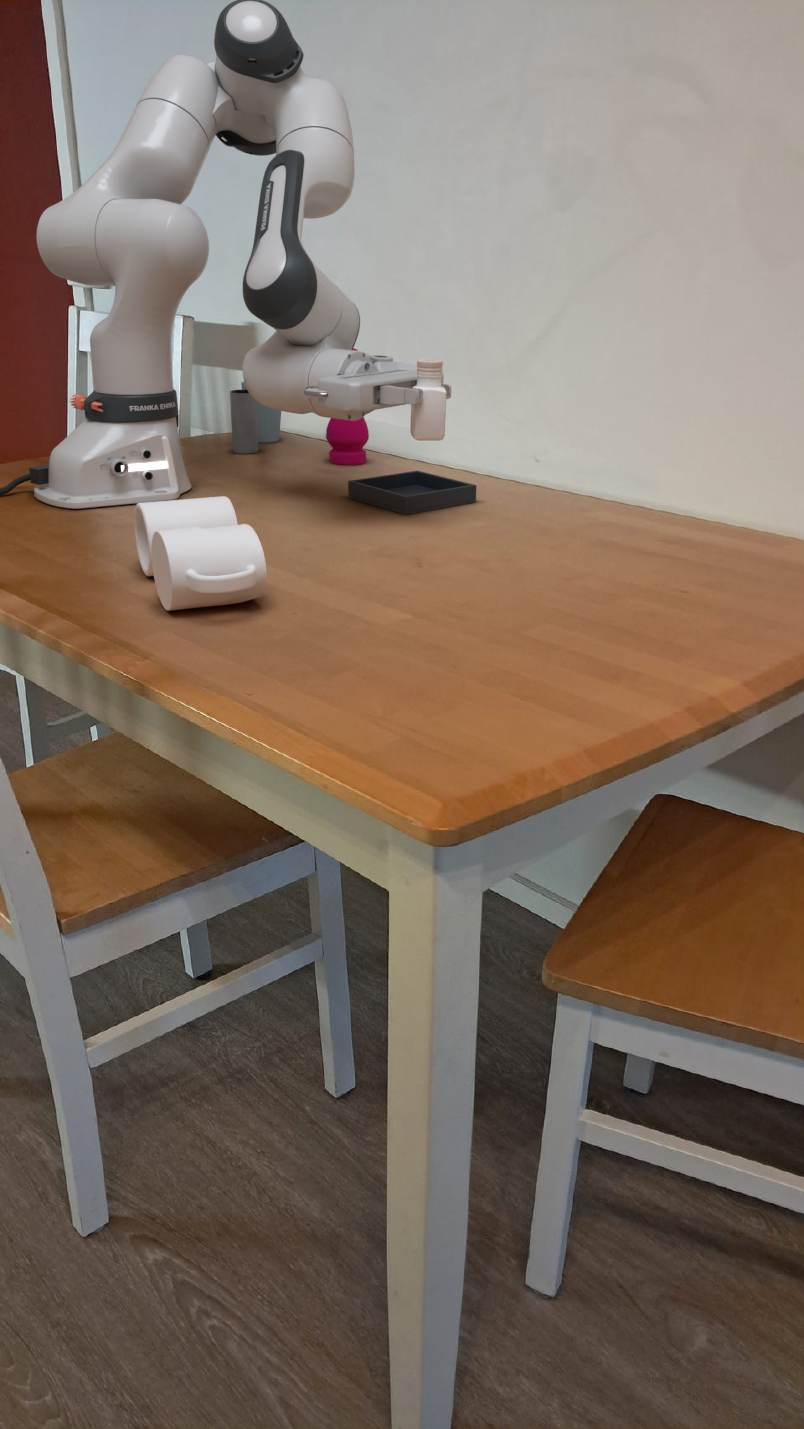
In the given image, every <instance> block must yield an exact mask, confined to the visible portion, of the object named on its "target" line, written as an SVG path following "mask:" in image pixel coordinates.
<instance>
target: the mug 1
mask: <svg viewBox="0 0 804 1429" xmlns="http://www.w3.org/2000/svg"><path fill="white" fill-rule="evenodd" d="M133 513H134V514H133V529H134V530H133V532H134V539H135V547H136V553H137V557H138V560H139V564H140V567H141V569H142V572H143V574H144V575H145V576H146V577H154V574H153V567H152V553H151V548H152V538H153V535H154V533H155V532H156V531H162V530H171V529H179V528H188V527H196V526H198V527H200V528H204V529H206V528H215V527H223V526H232V525H239V522H238V518H237V513H236V511H235V507H234V504H233V503H232V501H231V500H230V498H229V497H227V496H225V495H223V496H222V495H221V496H207V497H197V498H183V499H174V500H164V501H153V502H143V503H136V505H135V507H134V512H133Z"/></svg>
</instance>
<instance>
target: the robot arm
mask: <svg viewBox="0 0 804 1429" xmlns="http://www.w3.org/2000/svg"><path fill="white" fill-rule="evenodd" d="M213 46H214V47H213V48H214V51H215V61H212V62H207V63H206V62H205V61H204V60H202V59H200V58H199V57H197V56H193V55H190V54H182V53H181V54H176V55H173V56H171V57H169V58H168V59H167V60H165V61H164V62H163V63H162V65H161V66H159V68H158V69H157V71H156V72H155V73H154V75H153V76H152V77H151V79H150V80H149V82H148V83H147V85H146V86H145V88H144V90H143V92H142V93H141V95H140V97H139V99H138V101H137V103H136V105H135V107H134V109H133V112H132V114H131V116H130V118H129V121H128V123H127V124H126V127H125V128H124V131H123V133H121V134H122V135H121V136H120V137H119V140H118V142H117V145H116V146H115V147H114V149H113V151H112V152H111V153H110V155H109V156H108V157H107V158H106V160H105V161H104V162H103V163H102V164H101V165H100V167H99V168H97V169H96V171H95V172H94V173H93V174H92V175H91V176H90V177H88V179H87V180H86V181H85V182H83V184H81V186H80V187H78V188H77V189H76V190H75V191H73V192H72V193H71V194H69V195H68V196H67V197H65V198H64V199H62V200H60V201H59V202H57V203H54V204H53V205H50V206H49V207H47V208H46V209H45V210H44V211H43V212H42V213H41V215H40V218H39V220H38V223H37V226H36V245H37V248H38V253H39V256H40V258H41V260H42V262H43V264H44V266H45V268H47V269H48V271H49V272H50V273H51V274H53V275H55V276H56V277H58V278H62V279H64V280H67V281H70V282H74V283H77V284H81V285H85V286H96V287H97V286H99V287H101V286H102V287H114V290H115V291H114V299H113V304H112V306H111V309H110V311H109V313H108V315H107V316H106V317H105V318H103V319H102V320H100V321H99V322H98V323H97V324H96V325H95V326H94V327H93V329H92V331H91V332H90V336H89V346H90V356H91V358H90V359H91V367H92V368H91V369H92V376H93V378H92V379H93V385H94V390H93V391H92V392H91V393H90V394H89V395H88V396H87V397H86V396H85V395H81V394H78V393H75V394H73V395H72V396H71V398H70V401H69V403H71V404H70V406H72V407H73V409H76V410H79V411H84V417H85V419H84V420H83V421H82V422H81V423H80V424H79V425H77V427H76V428H74V429H73V430H72V431H71V432H70V433H69V434H68V435H67V436H66V437H65V438H64V439H63V440H62V441H61V442H59V444H57V445H56V446H55V447H54V448H53V449H52V451H51V452H50V456H49V459H48V463H47V464H42V465H36V466H31V467H29V468H28V470H29V473H26V474H23V475H21V476H18V477H16V478H14V479H13V480H11V481H10V482H9V483H8V484H7V485H5V486H3V487H1V488H0V496H3V495H6V494H8V493H10V492H11V491H13V490H14V489H15V488H16V487H18V486H19V485H21V484H23V483H25V482H28V481H30V484H34V485H36V486H35V487H34V489H33V496H34V498H35V499H37V500H38V501H40V502H41V503H44V504H47V505H51V506H54V507H58V508H64V509H75V510H76V509H77V510H78V509H89V508H90V509H91V508H98V507H110V506H121V505H130V504H138V503H145V502H158V501H170V500H178V499H179V498H180V495H181V494H184V493H186V492H188V491H190V490H191V489H192V483H191V481H190V479H189V475H188V472H187V469H186V466H185V465H186V464H185V462H184V457H183V453H182V447H181V442H180V437H179V429H178V428H179V425H180V424H179V422H180V416H179V405H178V404H179V402H178V393H177V390H176V389H175V388H174V379H173V375H174V374H173V355H172V354H173V353H172V350H173V348H172V345H173V344H172V339H173V338H172V337H173V329H174V323H175V319H176V315H177V312H178V309H179V306H180V304H181V302H182V300H183V297H184V296H185V294H186V293H187V291H188V290H189V289H190V288H191V286H192V285H193V284H194V283H195V282H196V281H197V280H199V278H200V277H201V276H202V274H203V273H204V271H205V269H206V267H207V264H208V260H209V255H210V242H209V240H210V239H209V235H208V232H207V229H206V226H205V225H204V224H205V223H204V221H203V220H202V219H201V217H200V216H199V214H198V213H197V212H196V211H195V210H194V209H193V208H191V207H190V206H187V205H183V203H184V202H185V201H186V200H187V199H188V197H189V196H190V194H191V193H192V191H193V189H194V186H195V184H196V181H197V180H198V177H199V175H200V172H201V170H202V168H203V165H204V163H205V161H206V158H207V156H208V154H209V151H210V149H211V146H212V144H213V141H214V139H215V137H216V138H217V139H218V140H219V141H220V142H221V143H222V144H223V145H224V146H226V147H229V148H234V149H236V150H237V151H239V152H242V153H245V154H248V155H251V156H252V155H253V156H259V157H262V156H266V157H267V156H271V155H274V154H275V155H274V156H273V157H272V158H271V160H270V161H269V163H268V164H267V166H266V168H265V171H264V174H263V177H262V182H261V186H260V193H259V201H258V206H257V215H256V223H255V230H254V238H253V245H252V248H251V252H250V256H249V258H248V262H247V264H246V267H245V270H244V274H243V279H242V297H243V302H244V305H245V307H246V308H247V310H248V311H249V313H251V314H252V315H253V316H254V317H256V318H257V319H259V320H261V321H262V322H263V323H265V324H266V325H267V326H269V327H271V328H273V329H274V330H275V332H274V333H273V334H272V335H271V336H270V337H269V338H268V339H267V340H266V341H264V342H263V343H262V344H260V345H258V346H256V347H252V348H251V349H249V350H248V351H247V353H246V354H245V356H244V358H243V361H242V378H243V382H244V383H245V386H246V388H247V390H248V392H249V394H250V395H251V396H252V397H253V398H254V399H255V400H256V401H257V402H258V403H259V404H261V405H263V406H265V407H268V408H271V409H275V410H279V411H281V412H285V413H290V414H297V415H307V414H311V413H312V414H315V415H316V416H319V417H320V418H321V417H322V418H326V419H327V418H328V419H330V418H335V419H342V420H350V421H356V420H359V419H361V418H362V417H364V418H365V416H367V415H369V414H370V413H372V412H374V411H376V410H382V409H388V408H393V407H399V406H405V405H410V406H411V405H415V404H420V403H422V402H423V390H422V389H417V388H413V387H414V386H416V385H417V364H413V363H406V362H402V361H401V362H400V361H394V358H393V357H392V356H389V355H372V354H370V353H366V352H364V351H361V350H358V351H355V350H353V348H354V349H355V345H356V342H357V340H358V337H359V333H360V328H361V314H360V311H359V309H358V307H357V305H355V303H354V302H353V301H352V299H351V298H349V297H348V295H347V294H345V292H344V291H343V290H342V289H341V288H340V287H339V286H338V285H337V284H336V283H334V282H333V281H332V280H331V279H330V277H328V276H327V275H326V274H325V273H324V272H323V271H322V270H321V269H320V268H319V267H318V265H316V264H315V262H314V261H313V260H312V258H311V257H310V255H309V254H308V252H307V251H306V248H305V247H304V244H303V240H302V238H303V237H302V236H303V227H304V226H303V225H304V219H311V220H313V219H321V218H325V217H329V216H331V215H333V214H334V213H336V212H338V211H340V210H341V208H343V206H345V205H346V204H347V202H348V201H349V199H350V198H351V196H352V192H353V188H354V184H355V172H356V171H355V149H354V147H355V146H354V137H353V136H354V135H353V131H352V124H351V120H350V119H351V118H350V115H349V110H348V106H347V103H346V100H345V98H344V95H343V94H342V92H341V91H340V89H339V88H338V87H337V86H335V85H334V84H333V83H332V82H330V81H328V80H326V79H324V78H320V77H311V76H309V75H307V74H306V73H305V72H304V71H303V70H302V67H301V65H302V63H303V59H304V56H305V55H304V52H303V49H302V48H301V47H300V45H299V43H298V42H297V41H296V39H295V37H294V36H293V34H292V32H291V29H290V27H289V25H288V22H287V20H286V19H285V17H284V16H283V13H281V12H280V10H278V8H277V7H275V6H274V5H273V4H271V3H269V2H267V1H265V0H234V1H232V2H230V3H229V4H227V5H226V6H225V7H224V8H223V9H222V11H221V12H220V13H219V16H218V18H217V21H216V24H215V30H214V40H213ZM444 379H445V378H444V372H442V377H441V386H442V387H444V388H445V390H446V392H447V393H446V400H448V399H450V398H451V397H452V386H451V385H450V384H449V383H444Z"/></svg>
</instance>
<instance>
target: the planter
mask: <svg viewBox="0 0 804 1429" xmlns="http://www.w3.org/2000/svg"><path fill="white" fill-rule="evenodd" d="M229 404H230V421H231V425H230V426H231V443H232V445H231V446H232V452H233V453H236V454H245V455H246V454H256V453H258V452H259V446H260V445H259V442H258V421H257V401H256V400H255V399H254V398H253V397H252V396H251V395H250V394H249V392H248V390H242V389H233V390H230V391H229Z"/></svg>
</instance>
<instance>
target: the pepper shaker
mask: <svg viewBox="0 0 804 1429" xmlns="http://www.w3.org/2000/svg"><path fill="white" fill-rule="evenodd" d="M416 365H417V385H416V386H414V387H413V388H417V389H422V390H423V402H422V403H420V404H415V405H411V404H410V426H409V427H410V428H409V429H410V430H409V431H410V435H411V437H412V438H413V439H414V440H416V441H420V442H421V441H423V442H424V441H425V442H426V441H429V442H431V441H435V442H436V441H438V442H440V441H442V440H444V439H445V436H446V418H447V417H446V414H447V399H446V393H447V392H446V390H445V388H444V387H442V386H441V377H442V373H443V365H444V363H443V360H441V359H435V358H433V359H432V358H421V359H417V360H416Z"/></svg>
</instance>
